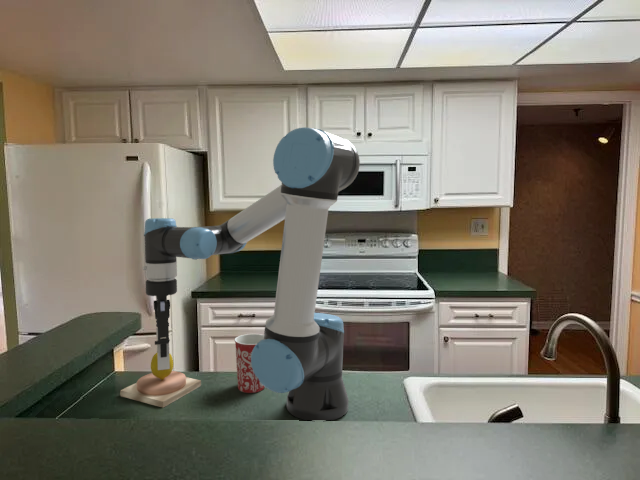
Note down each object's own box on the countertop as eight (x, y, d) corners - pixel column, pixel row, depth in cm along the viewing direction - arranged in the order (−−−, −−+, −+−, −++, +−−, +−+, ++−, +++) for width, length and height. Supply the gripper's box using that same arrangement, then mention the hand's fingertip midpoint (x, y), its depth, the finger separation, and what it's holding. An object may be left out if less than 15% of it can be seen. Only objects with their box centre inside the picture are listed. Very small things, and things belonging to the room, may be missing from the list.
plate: (201, 385, 118) (201, 375, 118) (163, 407, 105) (163, 395, 105) (160, 376, 123) (160, 366, 123) (120, 396, 111) (120, 384, 110)
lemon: (165, 373, 118) (165, 344, 117) (177, 379, 114) (177, 349, 114) (146, 380, 113) (146, 349, 113) (158, 385, 110) (158, 354, 109)
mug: (250, 398, 111) (250, 346, 110) (227, 388, 117) (227, 338, 116) (284, 383, 121) (285, 335, 120) (261, 374, 127) (262, 328, 126)
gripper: (145, 272, 122) (147, 346, 123) (145, 288, 99) (147, 379, 100) (174, 271, 125) (175, 344, 126) (180, 286, 101) (181, 375, 103)
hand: (162, 360), depth 113 cm, fingers open, 13 cm apart
